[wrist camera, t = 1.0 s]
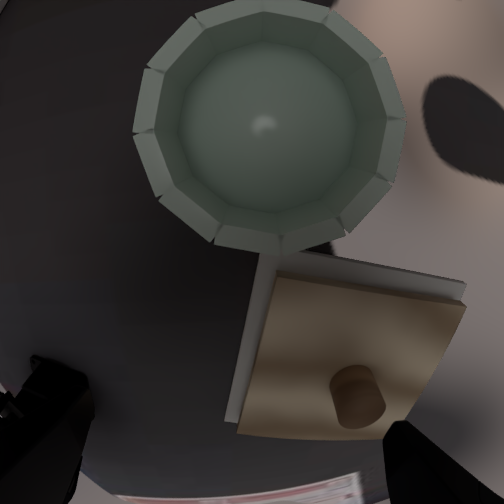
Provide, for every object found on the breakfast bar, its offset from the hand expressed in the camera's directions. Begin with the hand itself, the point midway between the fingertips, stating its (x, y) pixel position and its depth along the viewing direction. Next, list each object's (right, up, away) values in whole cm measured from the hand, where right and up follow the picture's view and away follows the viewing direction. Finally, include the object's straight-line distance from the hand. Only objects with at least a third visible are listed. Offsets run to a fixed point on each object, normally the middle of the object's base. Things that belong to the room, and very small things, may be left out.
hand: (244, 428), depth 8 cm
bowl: (+1, +12, +9) cm, 15 cm away
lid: (+7, -4, +14) cm, 16 cm away
